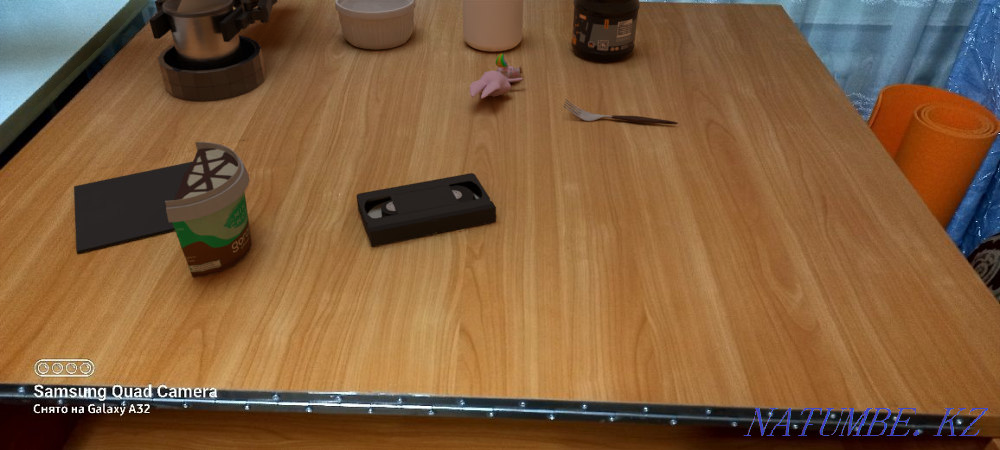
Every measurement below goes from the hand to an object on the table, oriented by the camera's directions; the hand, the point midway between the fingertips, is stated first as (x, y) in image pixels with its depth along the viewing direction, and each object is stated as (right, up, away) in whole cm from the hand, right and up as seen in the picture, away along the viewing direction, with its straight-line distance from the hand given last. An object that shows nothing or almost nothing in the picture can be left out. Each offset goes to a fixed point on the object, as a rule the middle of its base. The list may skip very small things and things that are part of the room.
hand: (189, 31), depth 103 cm
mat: (+2, -25, -17) cm, 30 cm away
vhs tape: (+35, -26, -18) cm, 47 cm away
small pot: (0, -5, +9) cm, 10 cm away
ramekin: (+22, +5, +25) cm, 34 cm away
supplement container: (+60, +2, +21) cm, 64 cm away
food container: (+15, -30, -24) cm, 41 cm away
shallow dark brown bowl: (0, -6, +9) cm, 11 cm away
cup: (+42, +4, +23) cm, 48 cm away
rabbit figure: (+43, -8, +8) cm, 44 cm away
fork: (+60, -13, +1) cm, 61 cm away
